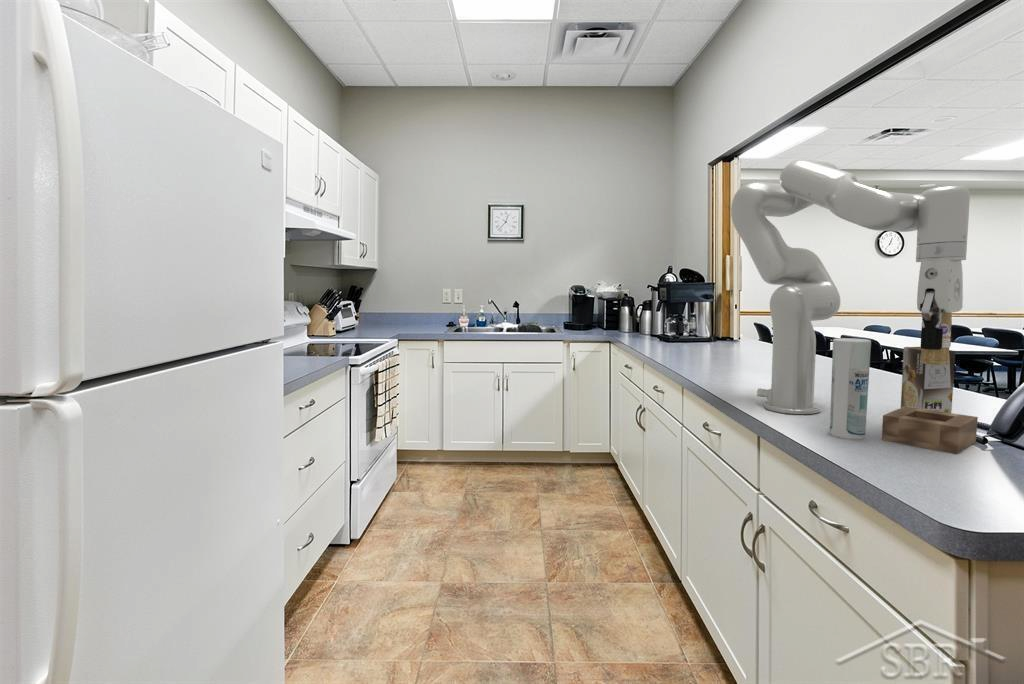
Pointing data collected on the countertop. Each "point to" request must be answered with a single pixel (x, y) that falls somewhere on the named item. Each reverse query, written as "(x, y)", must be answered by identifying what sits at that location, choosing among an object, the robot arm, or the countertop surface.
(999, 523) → the countertop surface
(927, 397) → the coffee box
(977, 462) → the countertop surface
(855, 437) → the spray can
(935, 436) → the bore block
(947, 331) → the sprinkles bottle
